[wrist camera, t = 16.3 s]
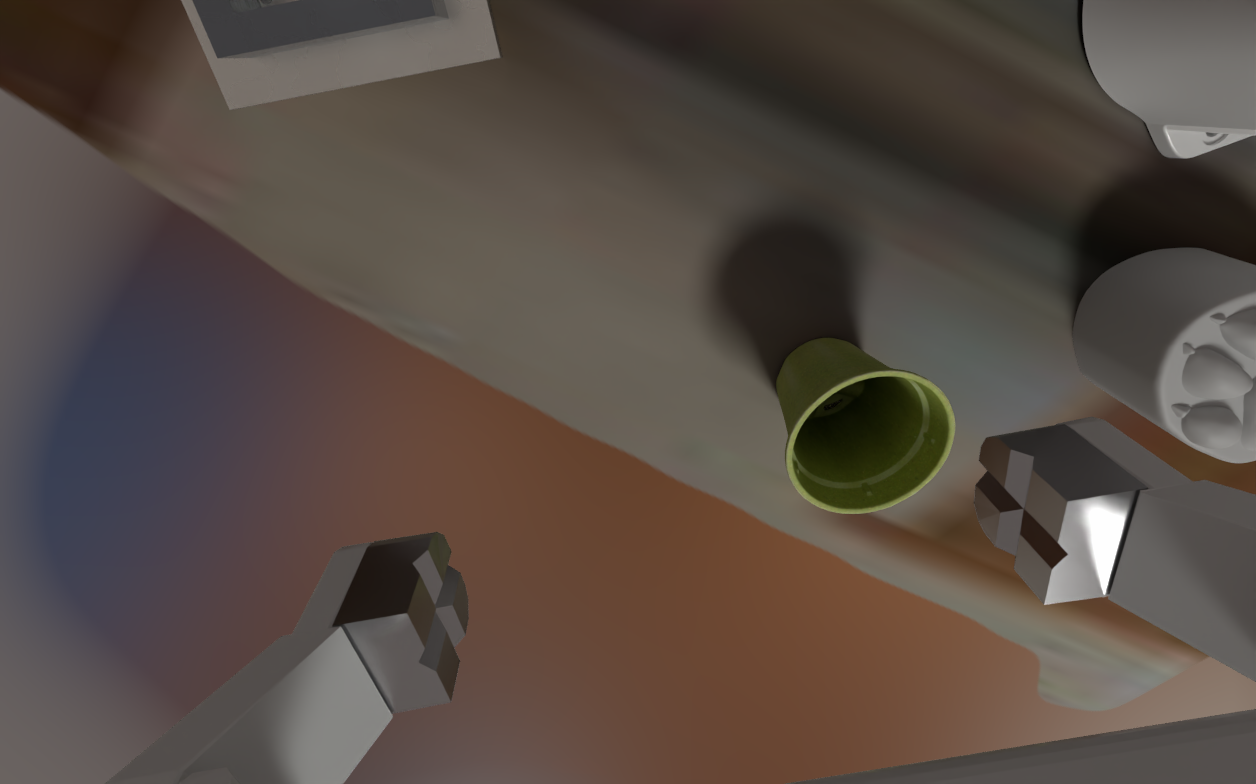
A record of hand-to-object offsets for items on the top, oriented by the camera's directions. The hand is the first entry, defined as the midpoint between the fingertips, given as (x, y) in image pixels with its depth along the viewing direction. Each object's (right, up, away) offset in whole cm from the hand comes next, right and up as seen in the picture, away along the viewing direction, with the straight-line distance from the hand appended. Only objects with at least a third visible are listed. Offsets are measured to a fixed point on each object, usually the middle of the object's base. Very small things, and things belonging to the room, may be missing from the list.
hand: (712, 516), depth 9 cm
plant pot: (+12, +3, +33) cm, 35 cm away
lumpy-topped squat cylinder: (+34, +6, +32) cm, 48 cm away
